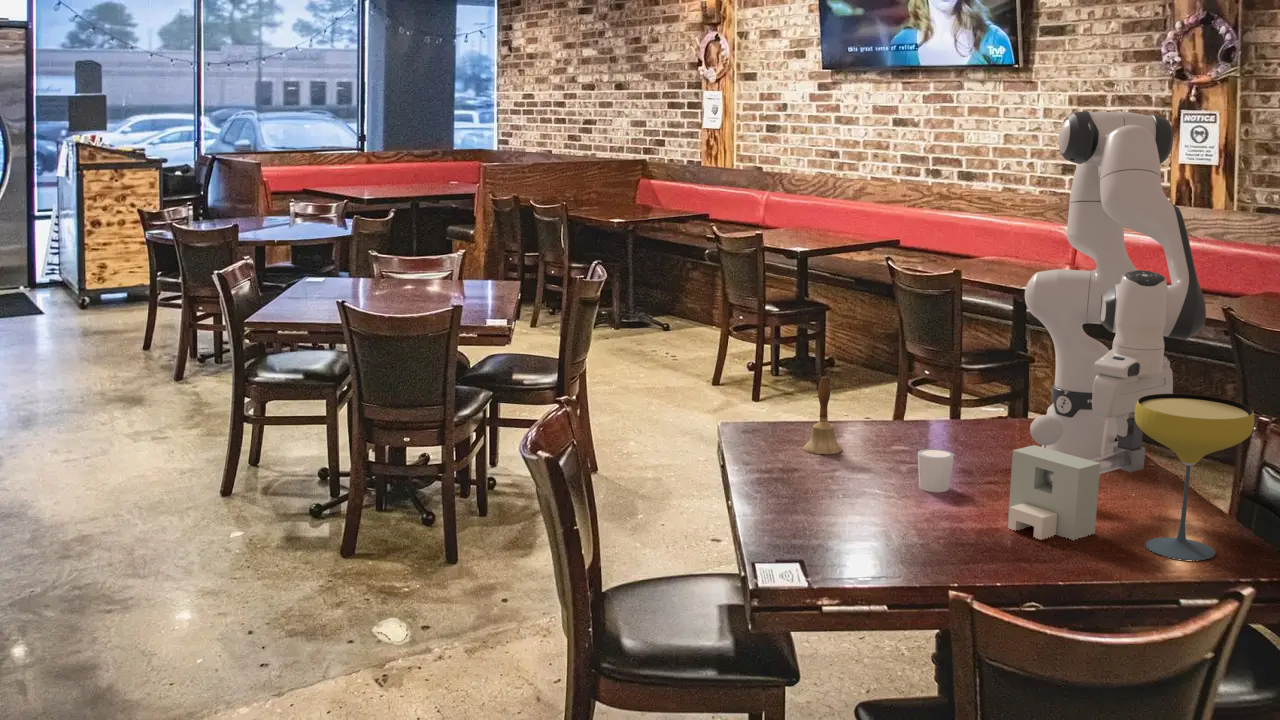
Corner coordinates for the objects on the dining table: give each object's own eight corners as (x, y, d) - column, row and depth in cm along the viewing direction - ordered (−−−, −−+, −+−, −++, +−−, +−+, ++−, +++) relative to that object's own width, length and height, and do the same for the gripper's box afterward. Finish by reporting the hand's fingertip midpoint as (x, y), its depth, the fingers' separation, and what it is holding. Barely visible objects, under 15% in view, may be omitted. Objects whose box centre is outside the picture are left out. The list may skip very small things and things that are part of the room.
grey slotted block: (1029, 512, 232) (1034, 445, 229) (1094, 533, 221) (1100, 463, 218) (1008, 518, 229) (1012, 450, 226) (1073, 540, 218) (1079, 468, 215)
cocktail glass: (1257, 570, 204) (1275, 420, 199) (1144, 568, 205) (1158, 418, 200) (1213, 532, 222) (1227, 394, 217) (1108, 530, 223) (1120, 392, 218)
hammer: (1124, 463, 239) (1129, 412, 237) (1143, 468, 236) (1148, 416, 233) (1040, 486, 224) (1044, 431, 222) (1059, 492, 221) (1063, 436, 219)
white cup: (952, 494, 242) (954, 459, 241) (916, 492, 244) (917, 456, 242) (951, 483, 249) (953, 449, 248) (915, 481, 250) (917, 447, 249)
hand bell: (802, 453, 269) (805, 380, 266) (804, 443, 277) (806, 372, 274) (842, 456, 268) (845, 382, 264) (842, 445, 276) (845, 373, 272)
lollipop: (1018, 487, 247) (1024, 412, 244) (1043, 484, 249) (1048, 410, 246) (1040, 496, 241) (1046, 420, 238) (1064, 493, 243) (1070, 417, 240)
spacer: (1022, 524, 226) (1024, 503, 225) (1055, 535, 220) (1057, 513, 219) (1007, 528, 224) (1009, 507, 223) (1041, 540, 218) (1042, 517, 217)
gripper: (1154, 351, 240) (1147, 422, 243) (1088, 364, 229) (1082, 438, 231) (1185, 357, 235) (1178, 429, 238) (1119, 370, 224) (1112, 446, 226)
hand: (1130, 433), depth 235 cm, fingers closed on hammer, 3 cm apart
